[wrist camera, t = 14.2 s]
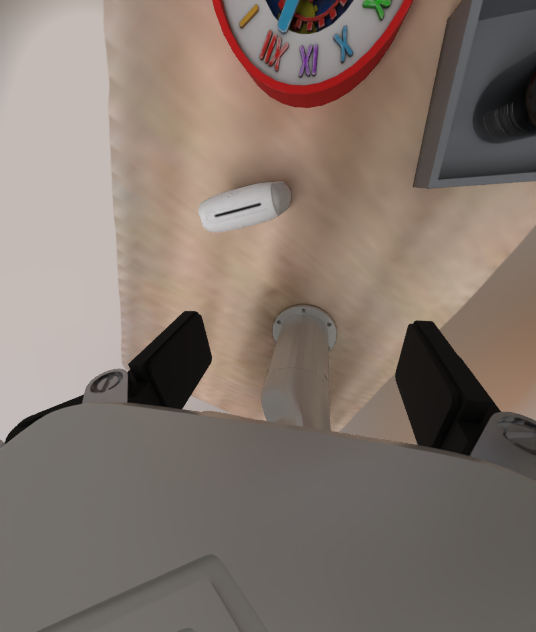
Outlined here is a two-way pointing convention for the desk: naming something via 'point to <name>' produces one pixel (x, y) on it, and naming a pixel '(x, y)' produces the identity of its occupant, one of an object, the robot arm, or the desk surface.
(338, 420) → the desk surface
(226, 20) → the toy clock
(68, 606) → the robot arm
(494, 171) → the box
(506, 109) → the supplement bottle
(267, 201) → the photo printer
